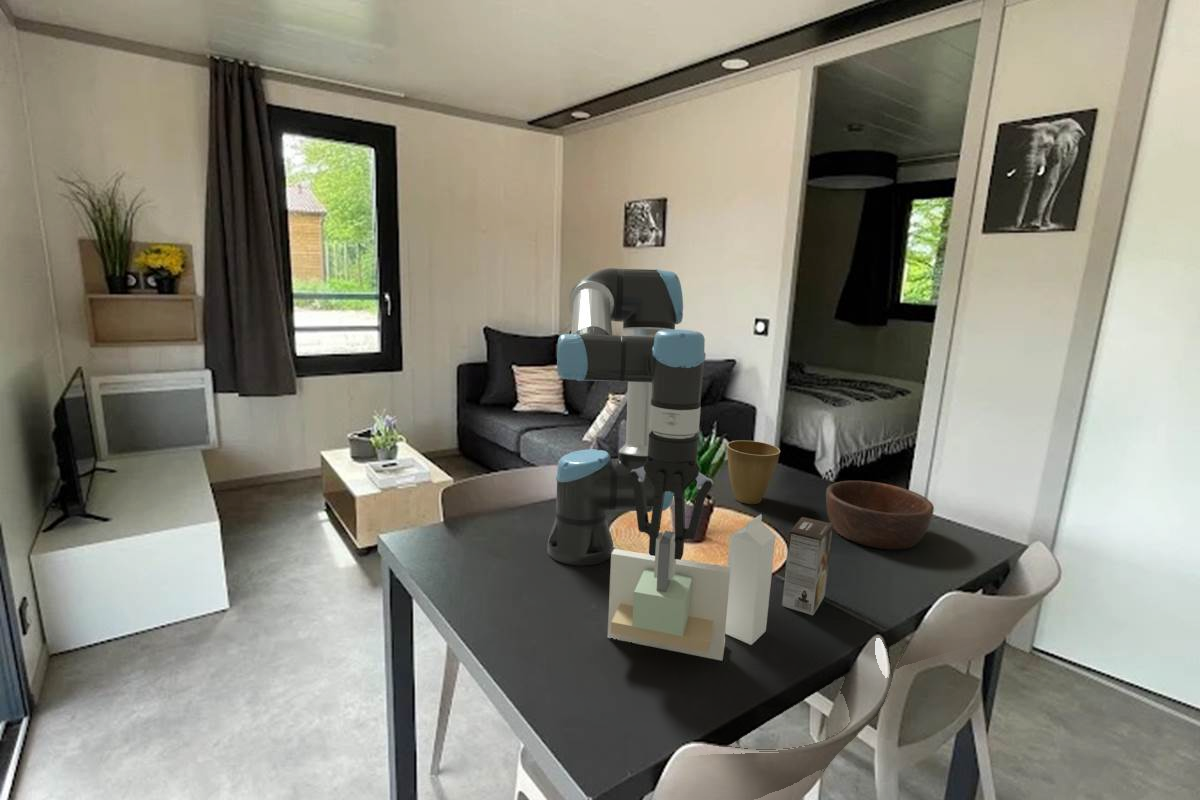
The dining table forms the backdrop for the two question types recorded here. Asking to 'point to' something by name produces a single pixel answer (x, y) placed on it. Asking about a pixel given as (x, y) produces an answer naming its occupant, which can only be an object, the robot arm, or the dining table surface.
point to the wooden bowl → (878, 514)
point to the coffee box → (807, 565)
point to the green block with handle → (662, 596)
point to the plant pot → (751, 469)
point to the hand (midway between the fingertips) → (664, 574)
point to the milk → (749, 580)
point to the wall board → (704, 615)
